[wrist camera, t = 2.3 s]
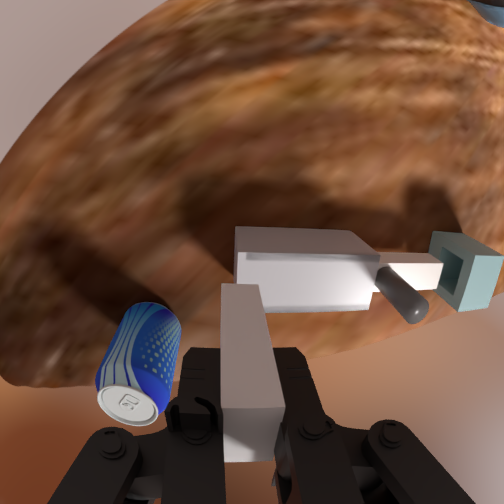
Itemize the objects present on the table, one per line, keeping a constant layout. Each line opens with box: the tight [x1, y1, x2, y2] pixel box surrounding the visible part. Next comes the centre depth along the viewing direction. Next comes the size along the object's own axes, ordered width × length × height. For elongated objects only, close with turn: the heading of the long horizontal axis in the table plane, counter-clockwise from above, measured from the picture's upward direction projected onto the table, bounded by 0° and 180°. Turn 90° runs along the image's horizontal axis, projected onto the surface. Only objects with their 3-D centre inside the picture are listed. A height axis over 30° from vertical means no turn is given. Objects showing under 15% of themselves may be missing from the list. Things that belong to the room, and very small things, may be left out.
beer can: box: [95, 302, 181, 426], centre depth 33 cm, size 8×8×16 cm
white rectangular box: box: [234, 226, 381, 313], centre depth 34 cm, size 7×15×9 cm, turn 87°
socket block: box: [428, 231, 504, 312], centre depth 36 cm, size 8×7×10 cm
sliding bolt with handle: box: [373, 252, 444, 324], centre depth 30 cm, size 4×24×11 cm, turn 87°
